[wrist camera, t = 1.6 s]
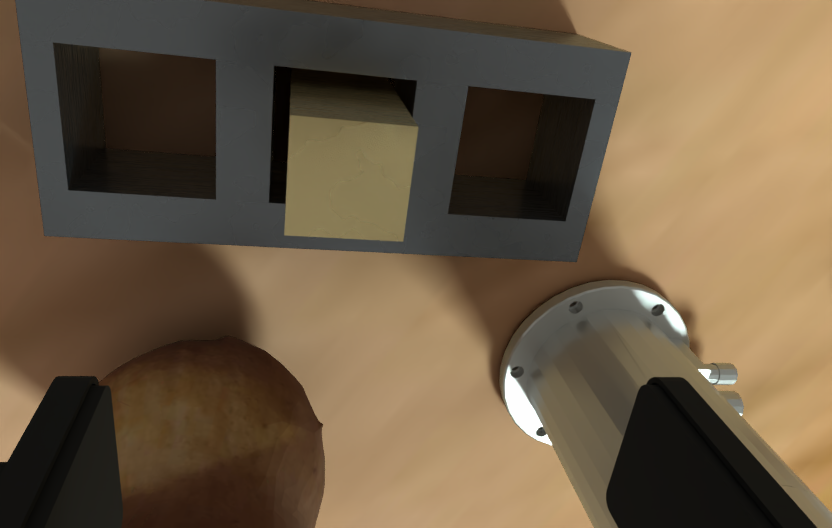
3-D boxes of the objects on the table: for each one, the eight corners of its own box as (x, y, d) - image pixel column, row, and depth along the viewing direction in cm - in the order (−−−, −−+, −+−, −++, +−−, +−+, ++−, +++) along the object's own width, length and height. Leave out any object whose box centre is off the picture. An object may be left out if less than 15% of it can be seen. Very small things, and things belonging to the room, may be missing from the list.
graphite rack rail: (577, 34, 33) (631, 52, 28) (536, 216, 37) (576, 261, 32) (65, -31, 28) (12, -24, 23) (85, 187, 32) (44, 236, 27)
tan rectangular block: (381, 70, 32) (418, 126, 23) (372, 155, 34) (403, 241, 25) (291, 60, 31) (290, 115, 22) (287, 148, 33) (284, 235, 24)
